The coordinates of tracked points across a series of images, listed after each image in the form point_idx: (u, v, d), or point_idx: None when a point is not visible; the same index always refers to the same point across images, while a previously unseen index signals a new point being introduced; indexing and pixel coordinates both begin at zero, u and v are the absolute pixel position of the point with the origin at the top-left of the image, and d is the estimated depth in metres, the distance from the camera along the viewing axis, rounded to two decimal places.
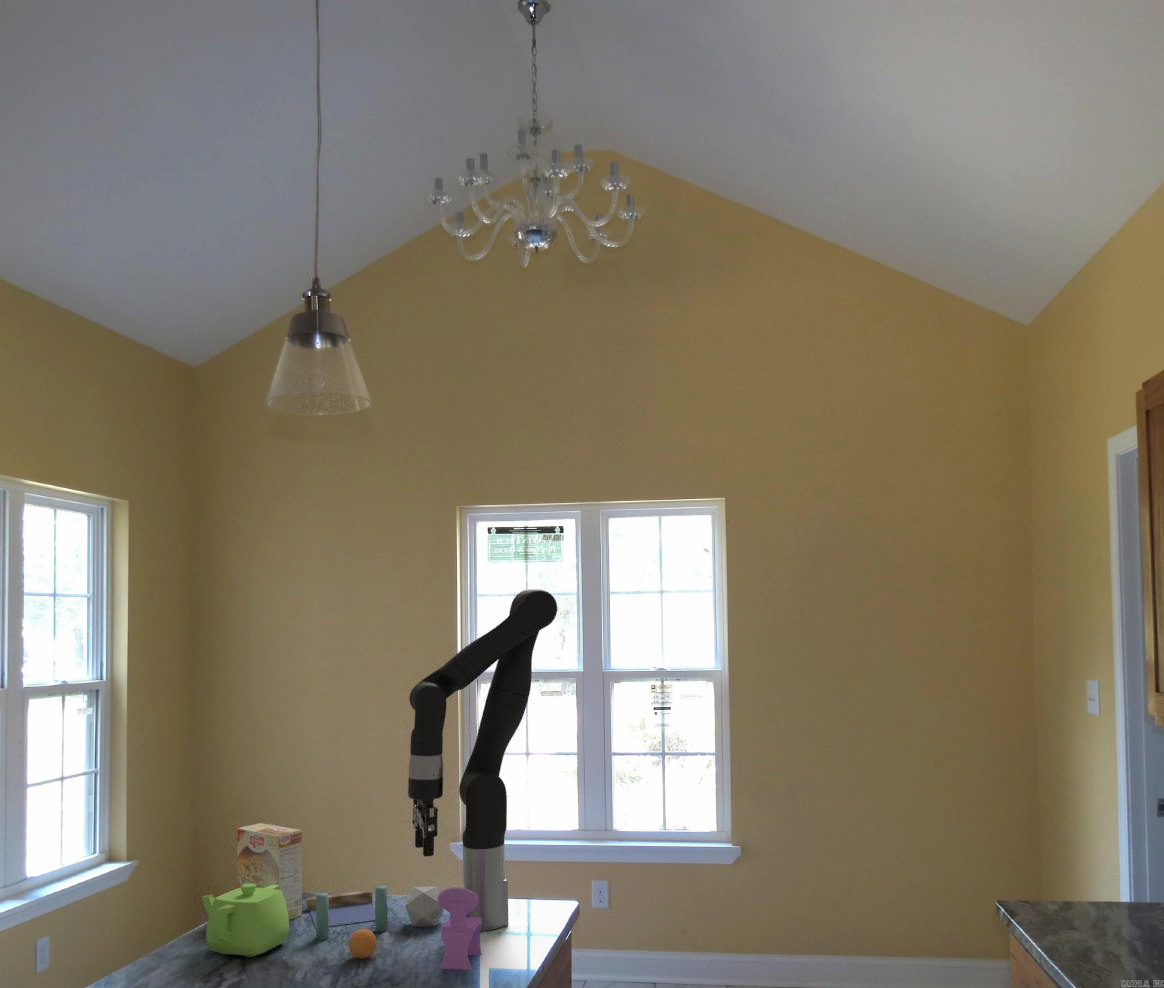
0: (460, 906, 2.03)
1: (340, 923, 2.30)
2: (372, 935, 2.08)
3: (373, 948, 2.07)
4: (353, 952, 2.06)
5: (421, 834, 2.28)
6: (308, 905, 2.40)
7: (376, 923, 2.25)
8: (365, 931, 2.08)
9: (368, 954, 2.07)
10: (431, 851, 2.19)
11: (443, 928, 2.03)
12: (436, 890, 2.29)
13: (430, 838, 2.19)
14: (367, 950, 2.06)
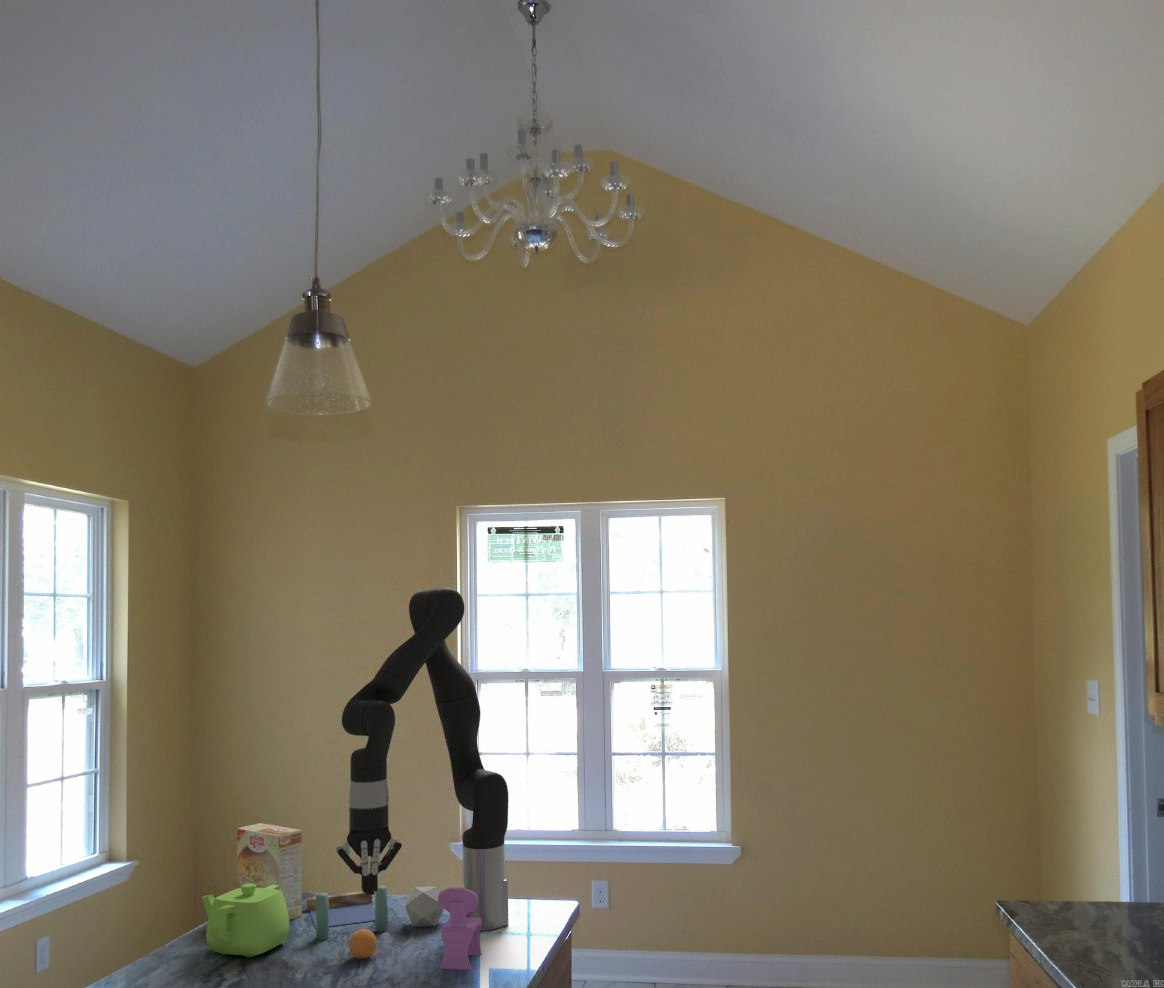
0: (460, 906, 2.03)
1: (340, 923, 2.30)
2: (372, 935, 2.08)
3: (373, 948, 2.07)
4: (353, 952, 2.06)
5: None
6: (308, 905, 2.40)
7: (376, 923, 2.25)
8: (365, 931, 2.08)
9: (368, 954, 2.07)
10: None
11: (443, 928, 2.03)
12: (436, 890, 2.29)
13: None
14: (367, 950, 2.06)
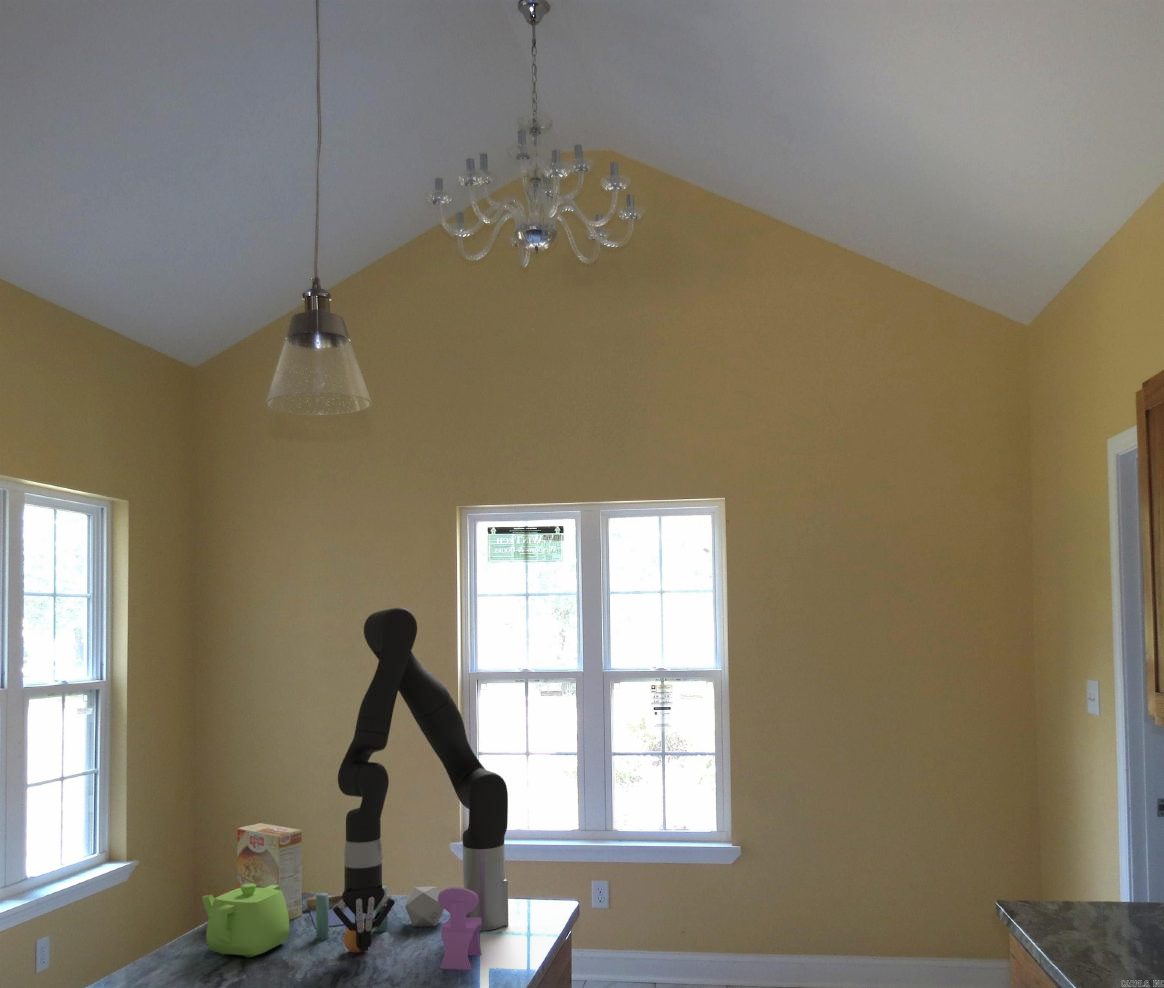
0: (460, 906, 2.03)
1: (340, 923, 2.30)
2: None
3: None
4: (348, 938, 2.10)
5: None
6: (308, 905, 2.40)
7: None
8: None
9: None
10: None
11: (443, 928, 2.03)
12: (436, 890, 2.29)
13: None
14: None
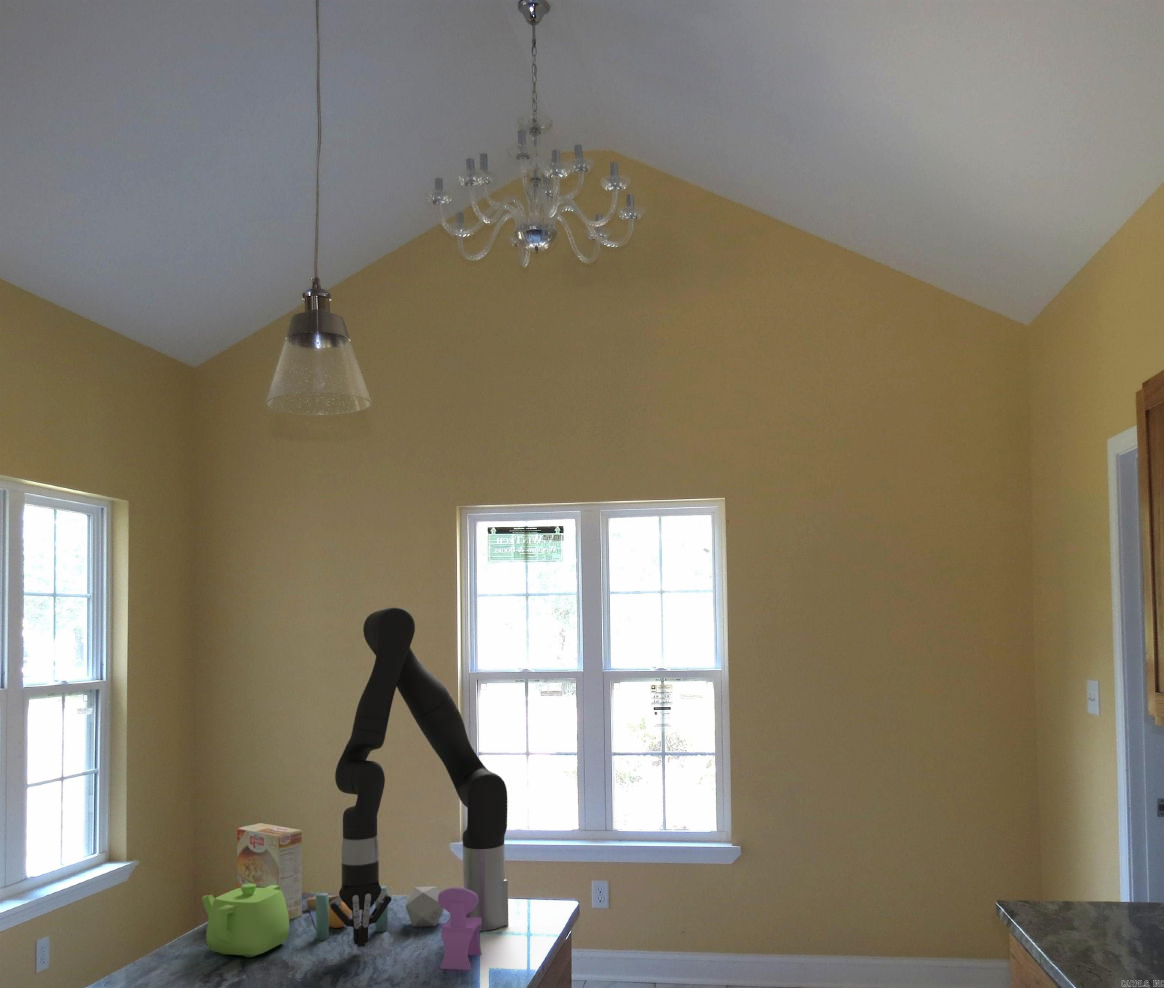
0: (460, 906, 2.03)
1: None
2: None
3: (345, 905, 2.28)
4: None
5: None
6: (308, 905, 2.40)
7: (376, 923, 2.25)
8: None
9: (342, 908, 2.27)
10: None
11: (443, 928, 2.03)
12: (436, 890, 2.29)
13: None
14: None
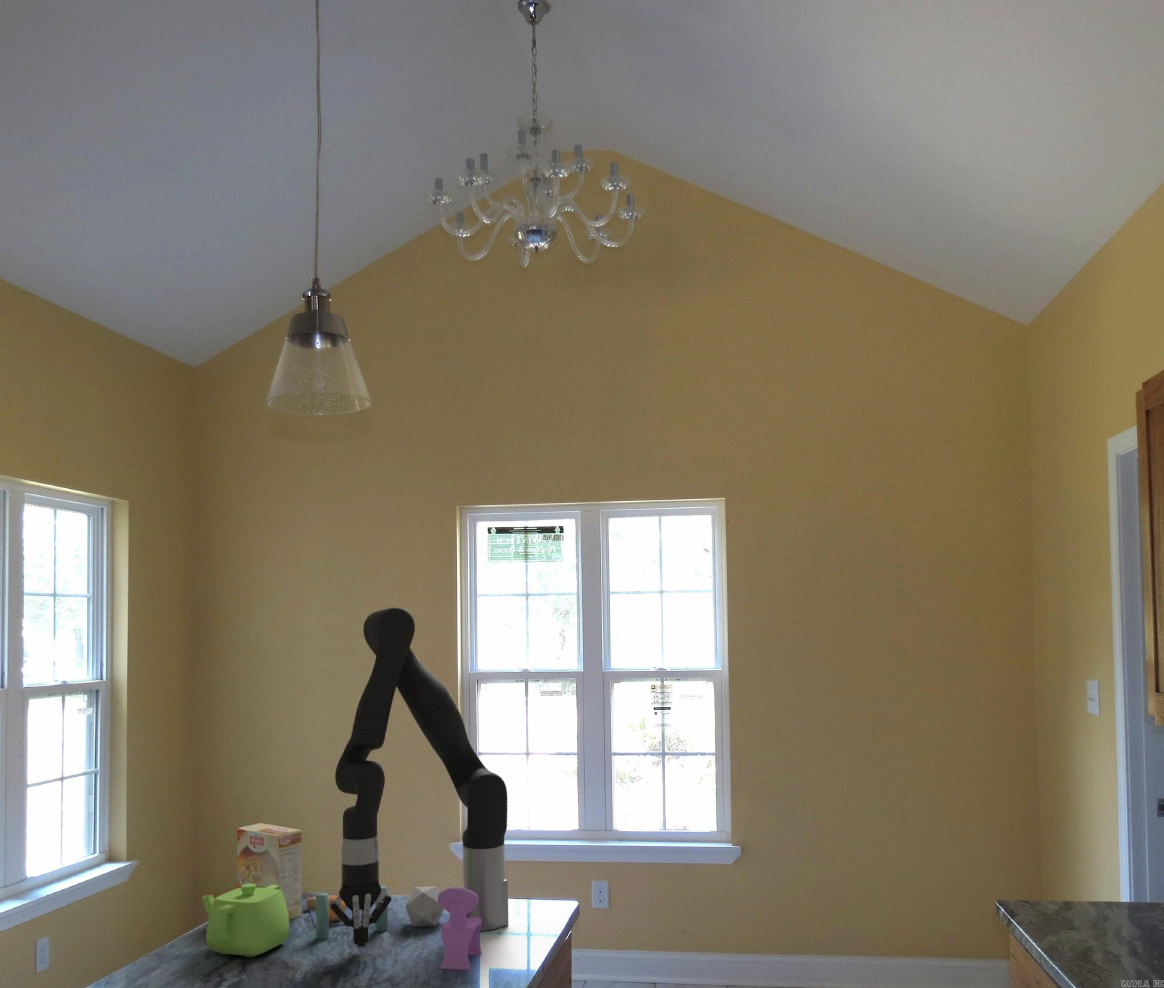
0: (460, 906, 2.03)
1: (340, 923, 2.30)
2: None
3: None
4: None
5: None
6: (308, 905, 2.40)
7: (376, 923, 2.25)
8: None
9: None
10: None
11: (443, 928, 2.03)
12: (436, 890, 2.29)
13: None
14: None
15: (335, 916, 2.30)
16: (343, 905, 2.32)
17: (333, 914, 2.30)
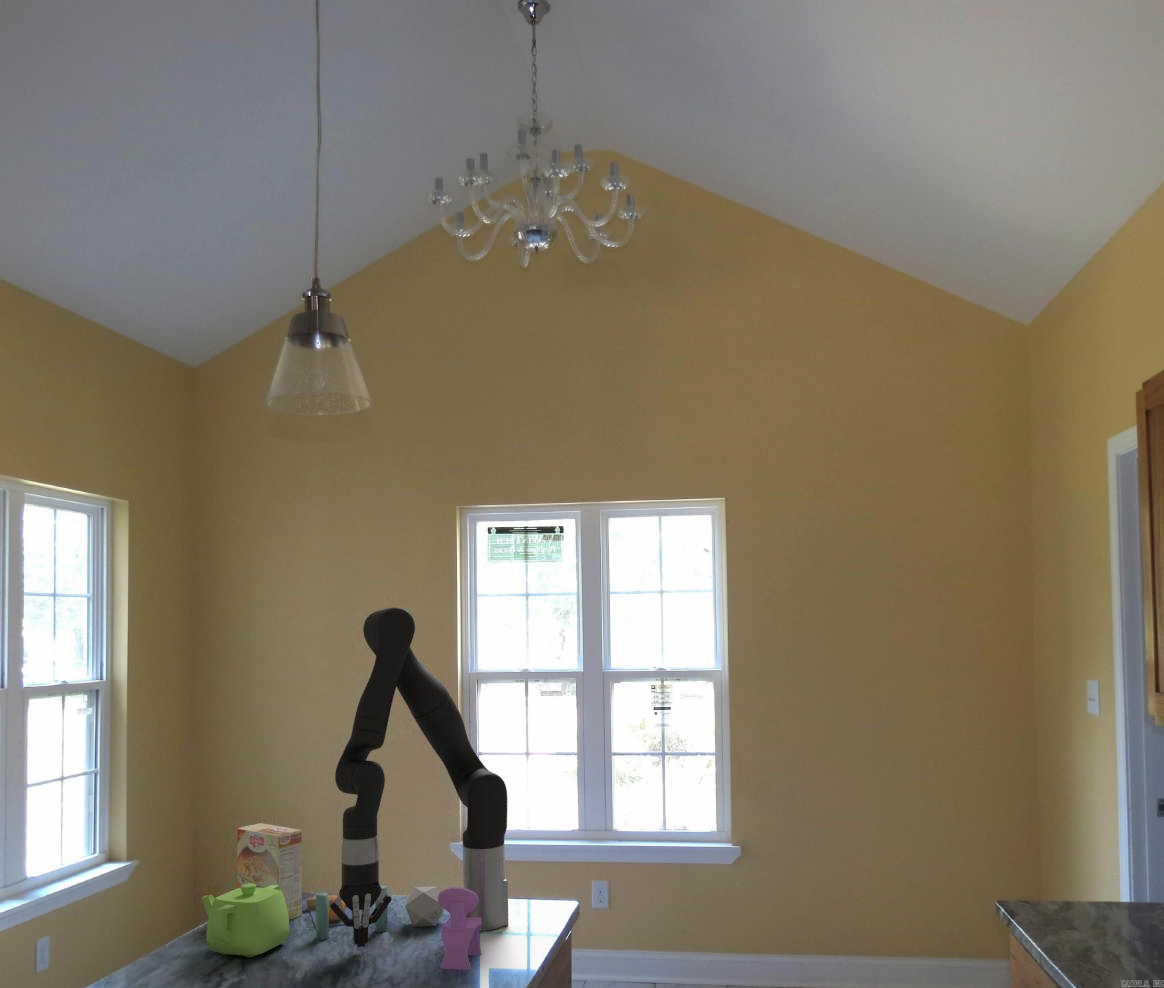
0: (460, 906, 2.03)
1: (340, 923, 2.30)
2: None
3: None
4: None
5: None
6: (308, 905, 2.40)
7: (376, 923, 2.25)
8: None
9: None
10: None
11: (443, 928, 2.03)
12: (436, 890, 2.29)
13: None
14: None
15: (335, 916, 2.30)
16: (343, 905, 2.32)
17: (333, 914, 2.30)
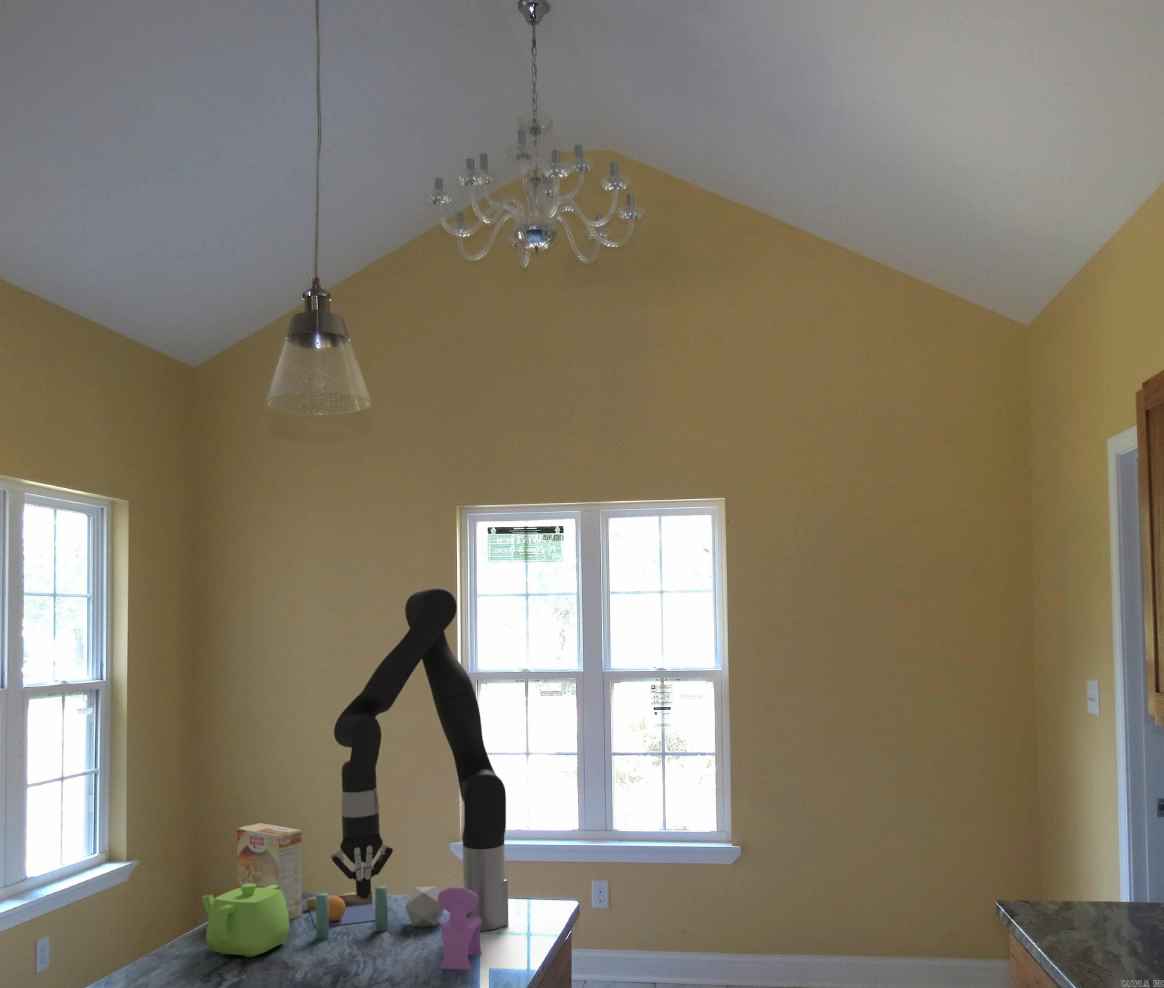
0: (460, 906, 2.03)
1: (340, 923, 2.30)
2: None
3: None
4: None
5: None
6: (308, 905, 2.40)
7: (376, 923, 2.25)
8: None
9: None
10: None
11: (443, 928, 2.03)
12: (436, 890, 2.29)
13: None
14: None
15: (335, 916, 2.30)
16: (343, 905, 2.32)
17: (333, 914, 2.30)
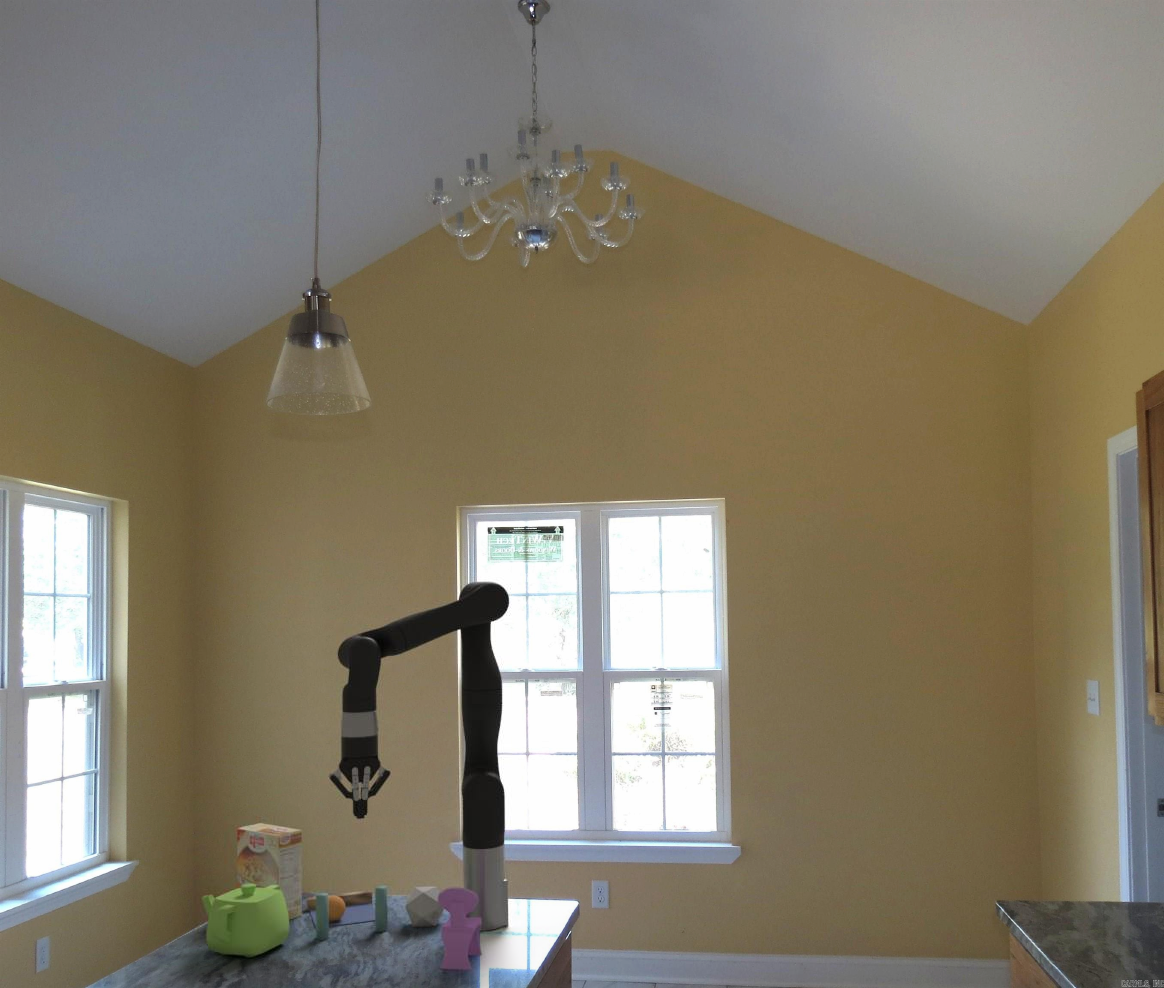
0: (460, 906, 2.03)
1: (340, 923, 2.30)
2: None
3: None
4: None
5: None
6: (308, 905, 2.40)
7: (376, 923, 2.25)
8: None
9: None
10: None
11: (443, 928, 2.03)
12: (436, 890, 2.29)
13: None
14: None
15: (335, 916, 2.30)
16: (343, 905, 2.32)
17: (333, 914, 2.30)
